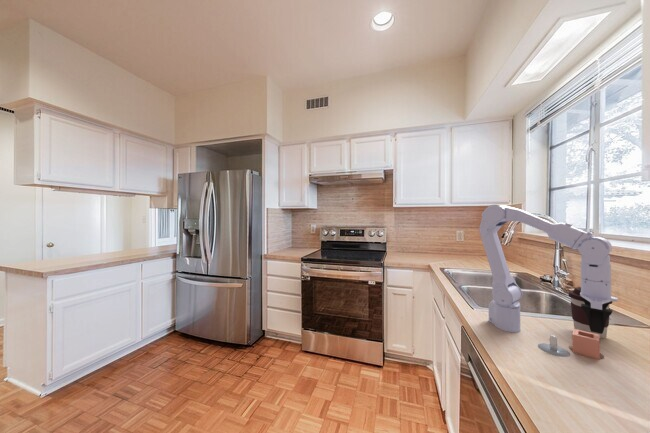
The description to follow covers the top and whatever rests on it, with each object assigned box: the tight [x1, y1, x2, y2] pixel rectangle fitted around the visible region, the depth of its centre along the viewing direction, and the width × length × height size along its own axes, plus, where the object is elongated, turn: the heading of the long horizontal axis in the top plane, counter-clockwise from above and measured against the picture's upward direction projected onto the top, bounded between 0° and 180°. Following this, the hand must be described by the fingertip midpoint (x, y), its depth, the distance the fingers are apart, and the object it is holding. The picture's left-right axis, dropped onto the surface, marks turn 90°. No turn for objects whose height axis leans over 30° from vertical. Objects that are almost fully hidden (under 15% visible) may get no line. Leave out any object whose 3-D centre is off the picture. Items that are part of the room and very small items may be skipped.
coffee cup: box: [567, 286, 613, 339], centre depth 81 cm, size 10×10×15 cm
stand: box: [537, 334, 571, 358], centre depth 71 cm, size 7×7×5 cm
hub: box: [568, 344, 605, 360], centre depth 70 cm, size 7×7×5 cm
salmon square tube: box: [571, 328, 601, 360], centre depth 70 cm, size 5×5×5 cm
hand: (596, 327), depth 69 cm, fingers open, 7 cm apart
